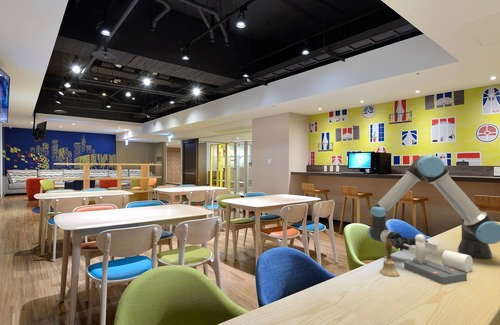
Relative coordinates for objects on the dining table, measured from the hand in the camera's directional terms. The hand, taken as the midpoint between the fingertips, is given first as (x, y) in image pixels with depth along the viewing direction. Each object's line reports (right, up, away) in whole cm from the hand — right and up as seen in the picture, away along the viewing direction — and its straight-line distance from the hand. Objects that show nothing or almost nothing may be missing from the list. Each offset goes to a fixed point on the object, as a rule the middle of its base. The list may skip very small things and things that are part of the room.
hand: (426, 249), depth 135 cm
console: (+1, -10, -4) cm, 11 cm away
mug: (+19, -11, +4) cm, 22 cm away
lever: (-1, -7, +3) cm, 8 cm away
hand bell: (-19, -11, -3) cm, 22 cm away
